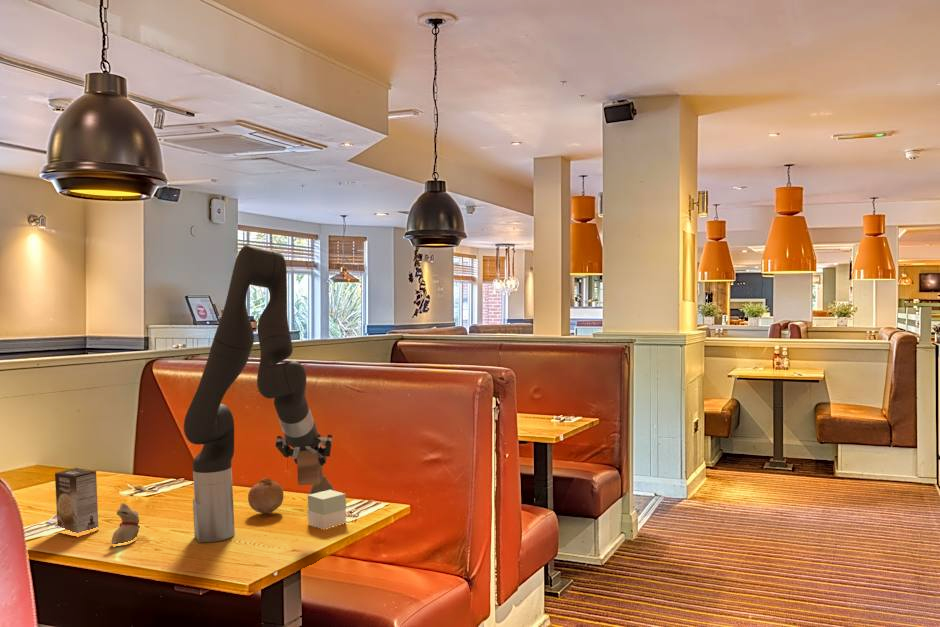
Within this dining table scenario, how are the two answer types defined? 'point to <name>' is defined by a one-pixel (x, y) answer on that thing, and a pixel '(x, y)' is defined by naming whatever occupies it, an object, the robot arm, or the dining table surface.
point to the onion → (265, 496)
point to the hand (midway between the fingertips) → (311, 462)
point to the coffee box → (76, 499)
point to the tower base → (326, 519)
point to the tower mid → (326, 502)
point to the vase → (321, 486)
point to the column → (309, 468)
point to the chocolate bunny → (126, 525)
